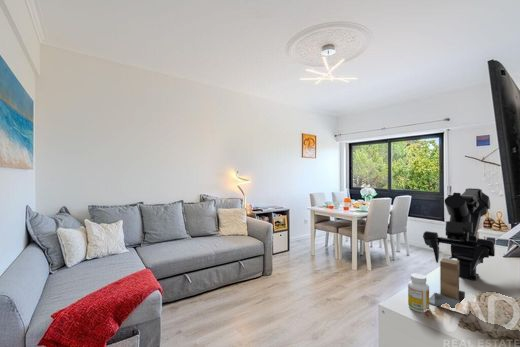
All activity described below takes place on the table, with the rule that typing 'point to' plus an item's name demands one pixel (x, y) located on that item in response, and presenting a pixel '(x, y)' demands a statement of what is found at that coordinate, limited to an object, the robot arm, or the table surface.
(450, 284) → the brown wooden block
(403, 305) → the table surface
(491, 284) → the table surface
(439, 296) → the clip
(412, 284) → the supplement bottle
